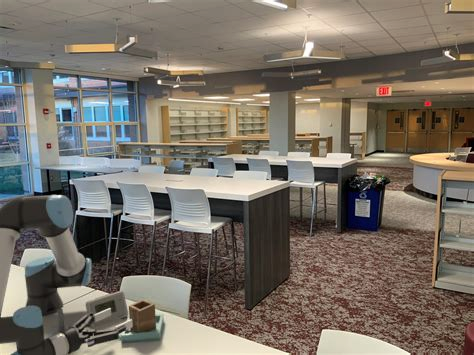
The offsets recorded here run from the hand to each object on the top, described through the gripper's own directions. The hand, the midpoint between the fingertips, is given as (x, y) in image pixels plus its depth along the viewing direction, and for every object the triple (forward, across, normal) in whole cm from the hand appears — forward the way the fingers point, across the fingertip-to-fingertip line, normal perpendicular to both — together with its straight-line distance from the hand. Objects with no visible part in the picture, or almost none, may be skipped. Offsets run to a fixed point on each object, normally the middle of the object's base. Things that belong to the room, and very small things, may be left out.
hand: (121, 317), depth 139 cm
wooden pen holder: (+9, 0, -9) cm, 13 cm away
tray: (+9, 0, -10) cm, 14 cm away
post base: (-12, -23, -10) cm, 27 cm away
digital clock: (+5, -18, -10) cm, 21 cm away
